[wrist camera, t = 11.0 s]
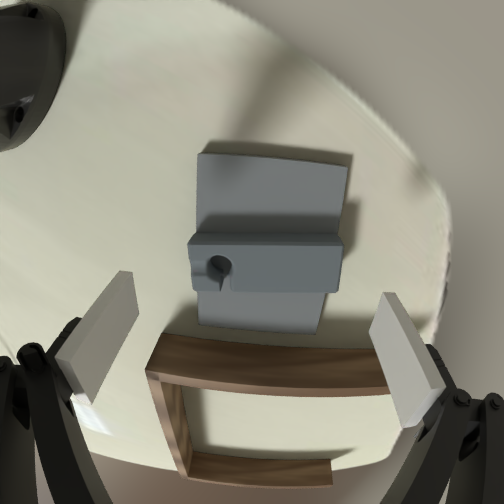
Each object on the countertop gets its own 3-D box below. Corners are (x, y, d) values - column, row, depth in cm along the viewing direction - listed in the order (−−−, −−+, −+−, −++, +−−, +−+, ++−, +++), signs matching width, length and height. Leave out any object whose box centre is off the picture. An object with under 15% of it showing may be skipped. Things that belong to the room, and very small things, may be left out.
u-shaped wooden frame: (161, 332, 26) (144, 369, 22) (393, 348, 26) (409, 384, 21) (186, 452, 38) (181, 477, 33) (328, 461, 37) (330, 486, 32)
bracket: (333, 280, 22) (338, 294, 20) (198, 279, 22) (192, 293, 21) (339, 232, 20) (345, 243, 18) (193, 231, 21) (185, 242, 19)
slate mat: (200, 152, 19) (197, 154, 18) (344, 165, 19) (347, 167, 18) (201, 317, 25) (198, 324, 24) (314, 327, 25) (315, 334, 24)
